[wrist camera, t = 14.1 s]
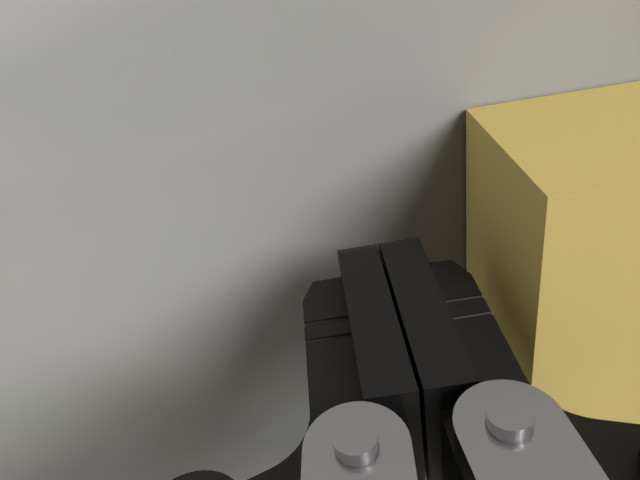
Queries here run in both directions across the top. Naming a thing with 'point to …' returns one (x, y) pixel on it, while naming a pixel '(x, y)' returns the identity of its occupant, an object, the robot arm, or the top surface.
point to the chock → (562, 241)
